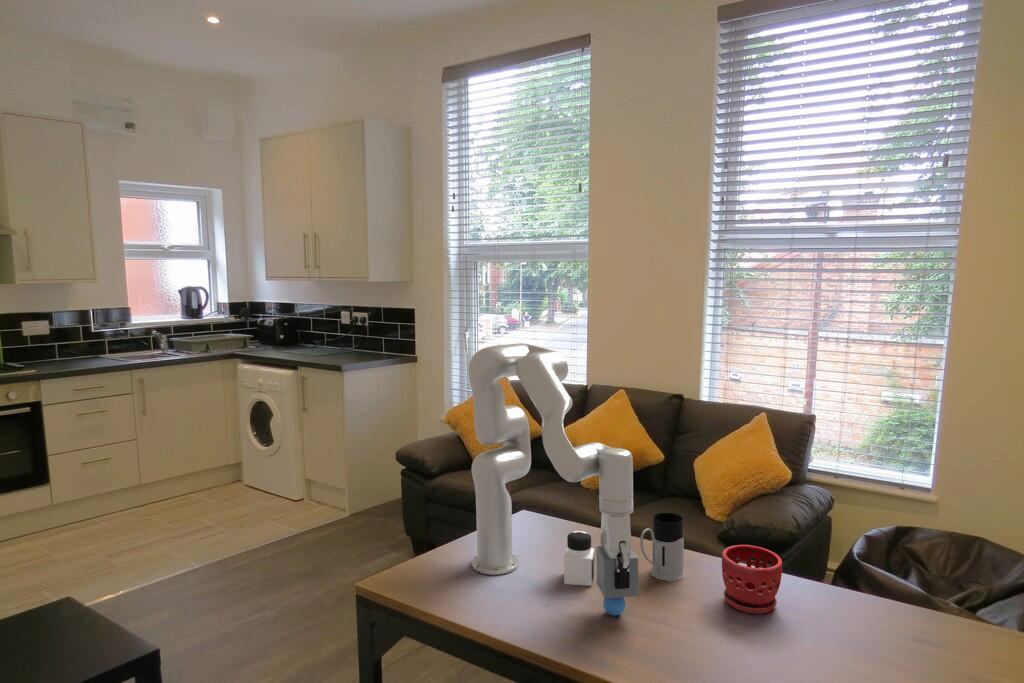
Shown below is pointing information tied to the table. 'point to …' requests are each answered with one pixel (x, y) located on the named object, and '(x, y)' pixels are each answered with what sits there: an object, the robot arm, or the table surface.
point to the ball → (614, 605)
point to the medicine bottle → (579, 559)
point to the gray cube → (607, 575)
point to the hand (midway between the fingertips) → (617, 579)
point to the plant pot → (751, 578)
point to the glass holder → (667, 546)
